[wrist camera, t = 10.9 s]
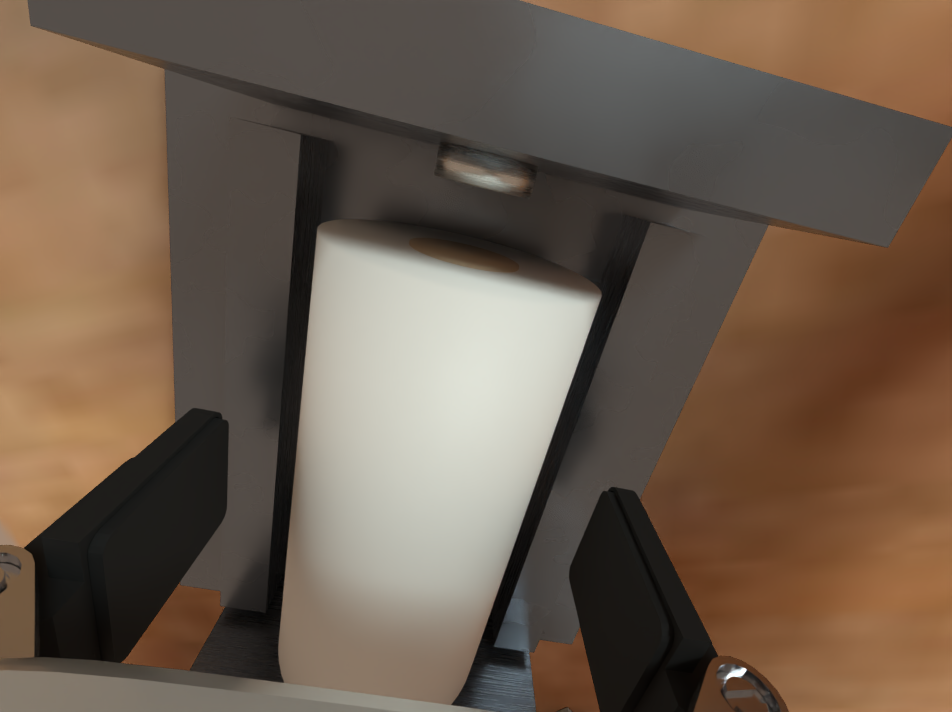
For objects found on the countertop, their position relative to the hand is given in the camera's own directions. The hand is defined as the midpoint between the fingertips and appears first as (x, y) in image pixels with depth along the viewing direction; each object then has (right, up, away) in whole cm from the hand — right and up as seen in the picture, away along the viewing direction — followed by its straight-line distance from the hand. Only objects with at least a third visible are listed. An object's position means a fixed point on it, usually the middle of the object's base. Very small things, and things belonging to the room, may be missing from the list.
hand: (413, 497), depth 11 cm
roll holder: (0, +2, +5) cm, 5 cm away
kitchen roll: (0, 0, +1) cm, 1 cm away
